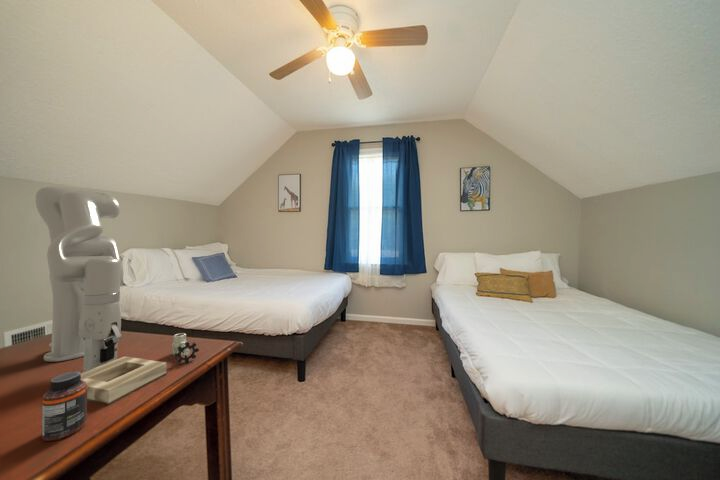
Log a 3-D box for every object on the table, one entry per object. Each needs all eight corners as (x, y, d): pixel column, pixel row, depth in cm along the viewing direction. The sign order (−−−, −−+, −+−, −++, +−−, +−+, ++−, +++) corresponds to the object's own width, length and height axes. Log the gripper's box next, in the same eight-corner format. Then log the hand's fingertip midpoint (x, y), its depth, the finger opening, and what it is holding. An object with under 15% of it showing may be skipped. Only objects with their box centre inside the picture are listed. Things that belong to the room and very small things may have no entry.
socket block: (60, 395, 62) (60, 381, 62) (124, 367, 75) (124, 356, 75) (108, 405, 58) (108, 390, 58) (166, 374, 72) (166, 362, 72)
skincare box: (90, 377, 70) (91, 334, 70) (81, 373, 72) (83, 332, 72) (117, 366, 76) (119, 327, 76) (109, 363, 77) (111, 325, 77)
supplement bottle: (65, 421, 53) (67, 368, 53) (95, 420, 54) (96, 368, 54) (30, 443, 47) (32, 384, 47) (64, 442, 48) (66, 383, 48)
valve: (166, 354, 85) (174, 366, 77) (166, 335, 85) (175, 345, 77) (188, 348, 90) (198, 359, 82) (189, 330, 90) (199, 339, 82)
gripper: (64, 299, 72) (62, 361, 72) (108, 304, 68) (106, 369, 68) (96, 294, 79) (94, 350, 79) (138, 298, 76) (136, 357, 75)
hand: (100, 358), depth 74 cm, fingers closed on skincare box, 4 cm apart
